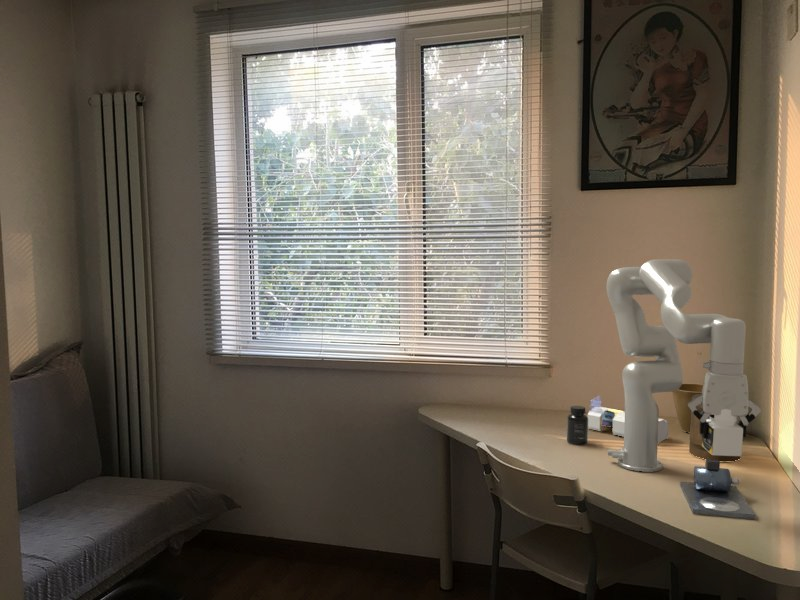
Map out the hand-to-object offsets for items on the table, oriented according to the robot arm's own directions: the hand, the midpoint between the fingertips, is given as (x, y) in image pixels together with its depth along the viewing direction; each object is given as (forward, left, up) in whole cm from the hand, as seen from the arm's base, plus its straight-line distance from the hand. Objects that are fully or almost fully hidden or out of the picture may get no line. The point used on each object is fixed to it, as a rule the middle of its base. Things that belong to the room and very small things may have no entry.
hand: (722, 437), depth 166 cm
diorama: (-17, +64, -19) cm, 69 cm away
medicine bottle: (0, 0, -4) cm, 4 cm away
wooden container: (+8, +47, -19) cm, 51 cm away
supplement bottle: (-34, +50, -18) cm, 63 cm away
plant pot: (+6, +74, -18) cm, 77 cm away
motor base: (0, +5, -18) cm, 19 cm away
